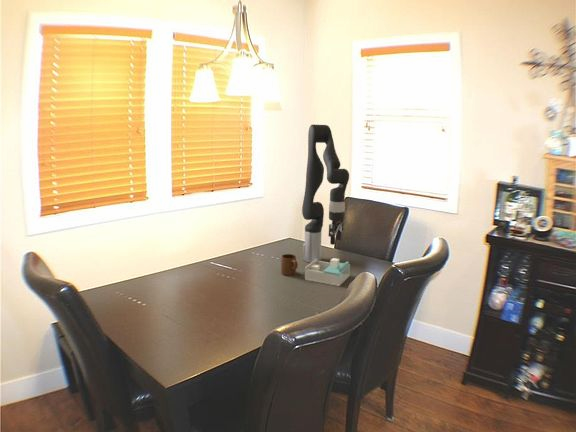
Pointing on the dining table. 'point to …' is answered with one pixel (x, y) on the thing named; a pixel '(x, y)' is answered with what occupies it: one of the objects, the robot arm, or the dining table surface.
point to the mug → (288, 264)
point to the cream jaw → (334, 263)
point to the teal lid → (337, 271)
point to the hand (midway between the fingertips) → (335, 242)
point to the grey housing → (316, 273)
